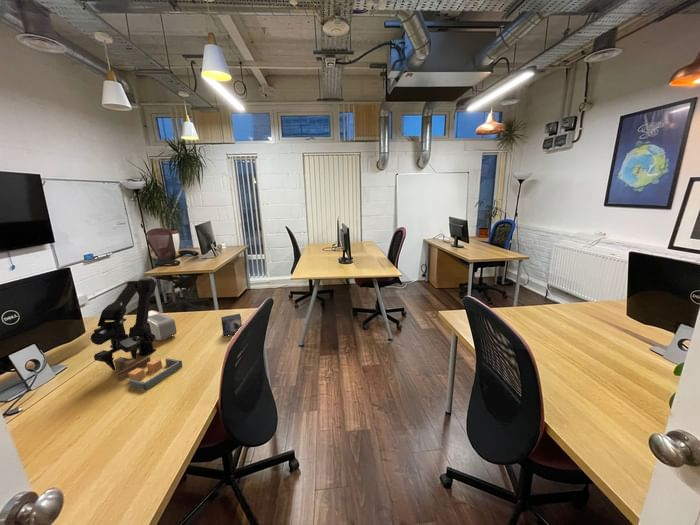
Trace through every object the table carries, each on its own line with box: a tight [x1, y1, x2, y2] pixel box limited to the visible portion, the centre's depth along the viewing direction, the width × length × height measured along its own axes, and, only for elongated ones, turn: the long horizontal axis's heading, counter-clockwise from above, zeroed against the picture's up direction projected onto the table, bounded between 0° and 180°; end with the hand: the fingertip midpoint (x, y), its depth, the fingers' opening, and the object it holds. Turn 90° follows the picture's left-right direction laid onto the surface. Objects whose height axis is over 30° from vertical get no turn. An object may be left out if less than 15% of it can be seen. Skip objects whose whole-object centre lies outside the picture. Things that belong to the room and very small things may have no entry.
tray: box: [128, 357, 183, 391], centre depth 127 cm, size 9×18×3 cm, turn 162°
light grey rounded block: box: [147, 310, 177, 341], centre depth 168 cm, size 27×9×12 cm, turn 56°
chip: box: [128, 368, 146, 381], centre depth 126 cm, size 4×4×4 cm
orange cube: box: [146, 358, 163, 373], centre depth 133 cm, size 4×4×4 cm
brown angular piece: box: [113, 356, 151, 382], centre depth 133 cm, size 11×14×5 cm
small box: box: [220, 313, 243, 337], centre depth 166 cm, size 11×6×10 cm, turn 117°
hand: (124, 364), depth 133 cm, fingers open, 9 cm apart
